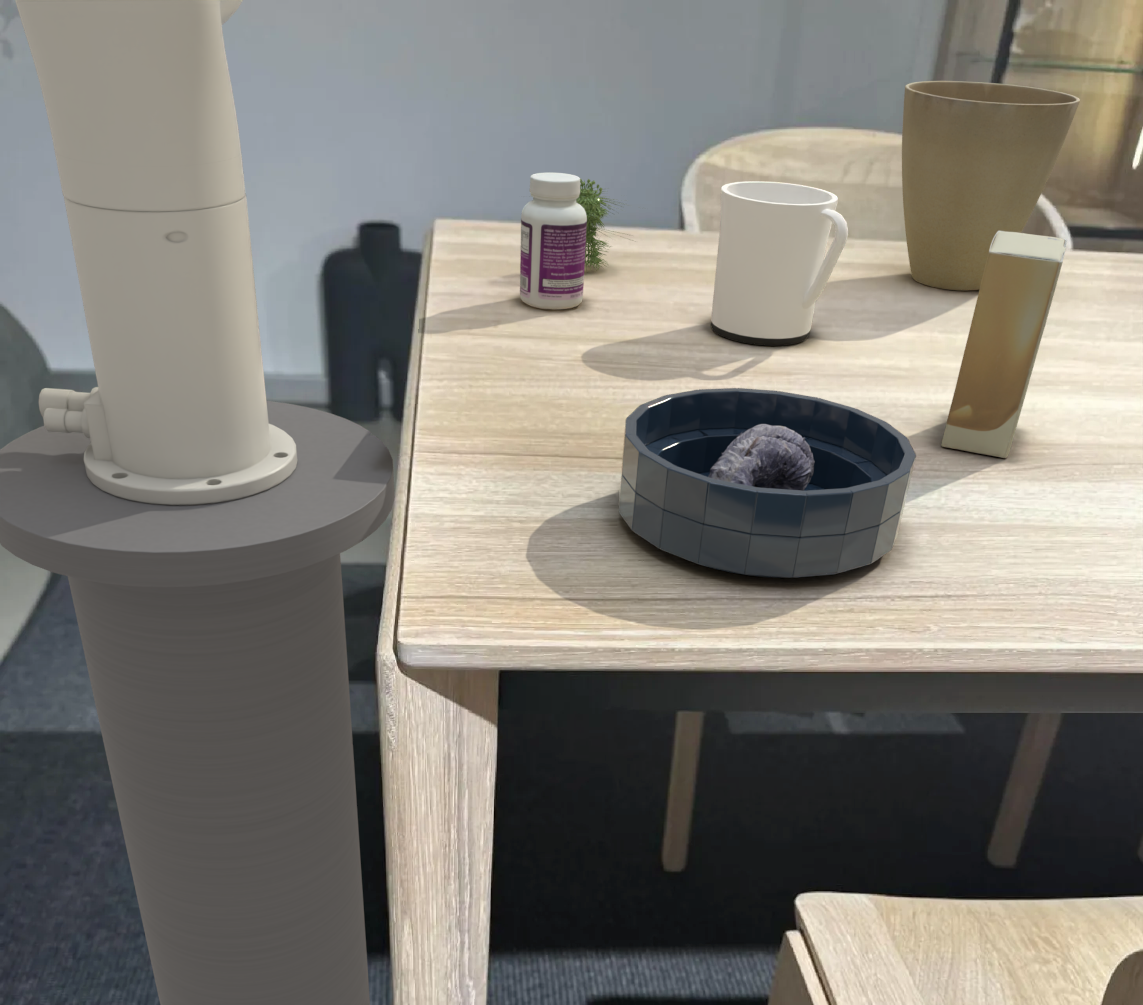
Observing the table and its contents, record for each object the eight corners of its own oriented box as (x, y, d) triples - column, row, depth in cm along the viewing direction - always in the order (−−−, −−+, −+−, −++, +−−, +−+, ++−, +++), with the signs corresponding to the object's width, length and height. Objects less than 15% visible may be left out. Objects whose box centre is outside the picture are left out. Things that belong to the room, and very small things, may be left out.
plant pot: (920, 254, 122) (958, 76, 113) (1056, 286, 114) (1109, 97, 104) (839, 275, 113) (873, 83, 104) (980, 312, 105) (1030, 107, 96)
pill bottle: (592, 300, 101) (600, 176, 95) (566, 314, 97) (572, 185, 91) (536, 290, 103) (540, 167, 97) (507, 304, 99) (510, 176, 93)
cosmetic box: (950, 418, 82) (996, 227, 74) (1015, 429, 80) (1069, 237, 73) (938, 449, 77) (987, 247, 70) (1007, 461, 76) (1064, 258, 68)
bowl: (615, 576, 60) (623, 482, 57) (620, 462, 72) (627, 379, 69) (918, 598, 59) (941, 504, 57) (870, 479, 72) (888, 398, 69)
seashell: (756, 575, 62) (760, 504, 70) (835, 506, 59) (830, 441, 67) (683, 507, 60) (696, 442, 69) (760, 432, 58) (764, 375, 66)
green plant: (493, 257, 111) (495, 169, 107) (604, 249, 116) (610, 165, 112) (553, 290, 103) (557, 196, 99) (670, 280, 108) (678, 190, 104)
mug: (682, 326, 96) (697, 188, 90) (749, 309, 101) (767, 177, 95) (791, 362, 90) (815, 215, 84) (857, 341, 95) (884, 202, 89)
